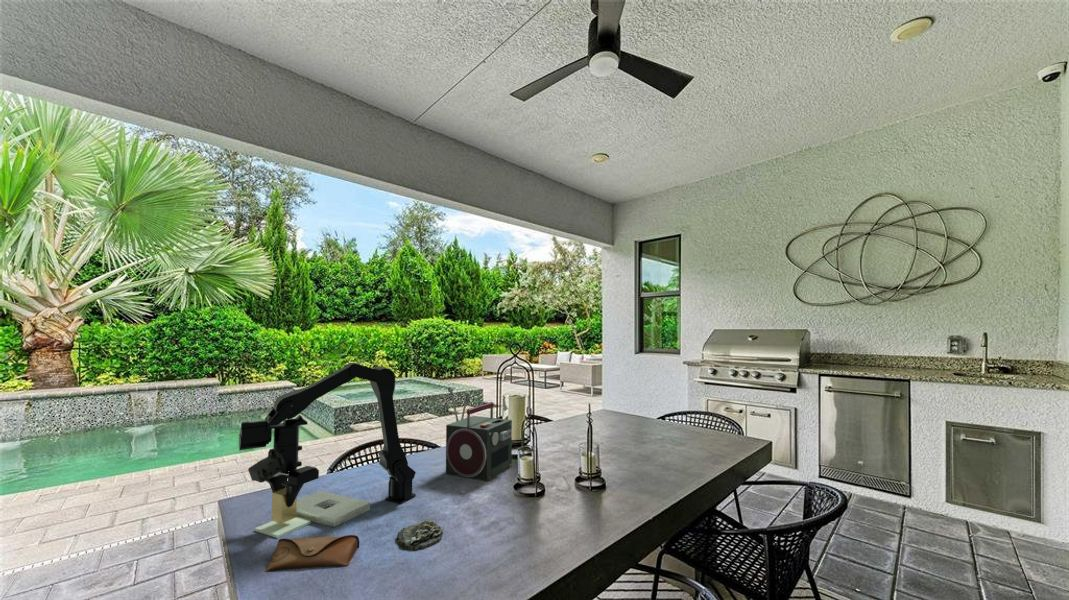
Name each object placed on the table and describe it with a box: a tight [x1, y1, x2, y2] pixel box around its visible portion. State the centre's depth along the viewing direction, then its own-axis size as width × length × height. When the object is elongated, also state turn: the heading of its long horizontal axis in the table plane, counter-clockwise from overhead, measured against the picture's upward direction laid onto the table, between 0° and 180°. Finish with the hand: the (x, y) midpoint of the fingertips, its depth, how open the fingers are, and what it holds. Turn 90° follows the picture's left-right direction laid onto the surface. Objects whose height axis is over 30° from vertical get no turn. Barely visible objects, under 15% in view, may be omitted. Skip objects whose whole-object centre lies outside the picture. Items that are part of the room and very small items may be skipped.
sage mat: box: [254, 517, 312, 539], centre depth 112 cm, size 9×9×1 cm
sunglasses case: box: [263, 534, 360, 573], centre depth 97 cm, size 18×7×7 cm
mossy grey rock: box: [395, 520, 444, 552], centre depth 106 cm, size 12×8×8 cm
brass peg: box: [270, 487, 298, 524], centre depth 112 cm, size 4×4×7 cm
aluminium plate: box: [296, 490, 371, 528], centre depth 122 cm, size 20×12×2 cm, turn 64°
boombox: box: [445, 386, 513, 482], centre depth 157 cm, size 18×21×30 cm
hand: (284, 505), depth 112 cm, fingers closed on brass peg, 4 cm apart
